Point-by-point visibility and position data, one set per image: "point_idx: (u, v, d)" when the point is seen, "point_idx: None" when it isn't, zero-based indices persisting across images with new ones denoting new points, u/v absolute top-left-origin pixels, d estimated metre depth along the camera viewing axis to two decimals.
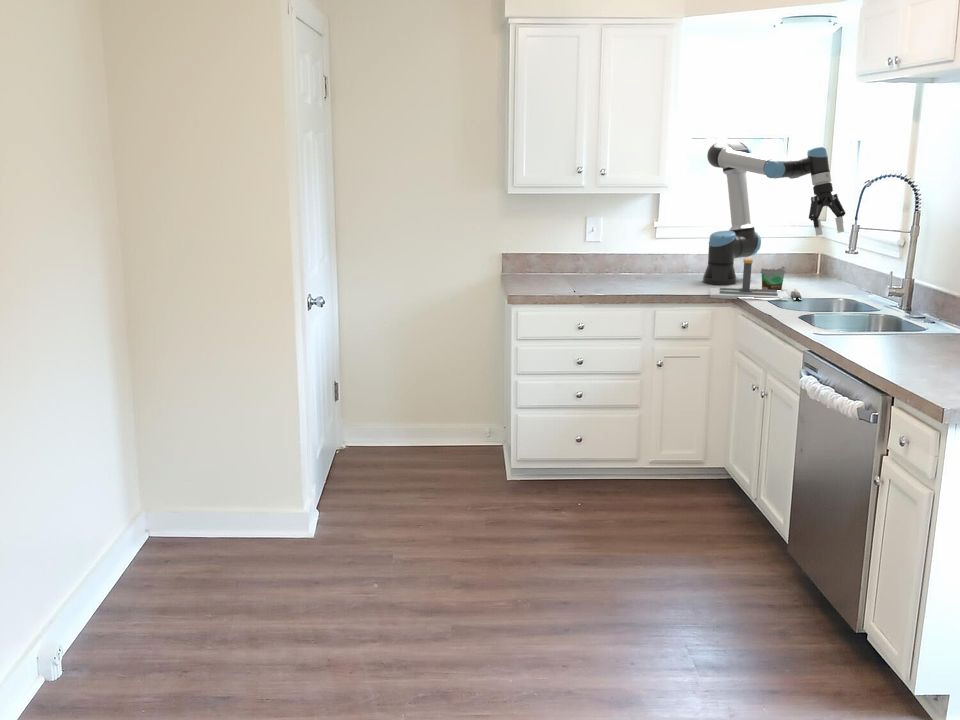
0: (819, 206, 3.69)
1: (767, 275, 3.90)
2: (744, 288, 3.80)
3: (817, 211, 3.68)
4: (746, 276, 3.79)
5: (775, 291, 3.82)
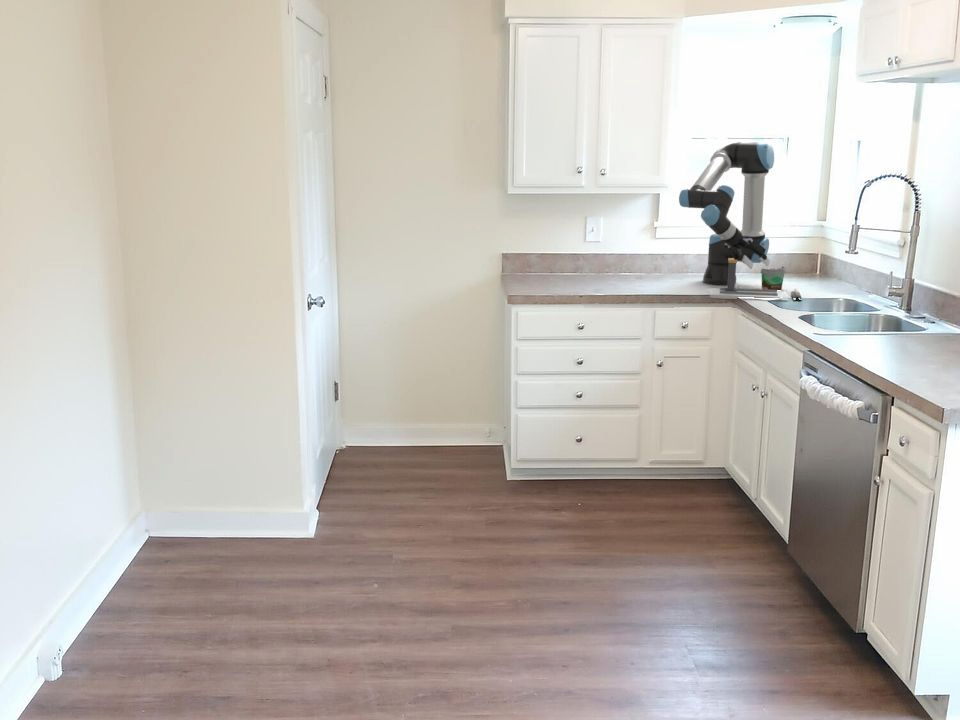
0: None
1: (767, 275, 3.90)
2: (729, 287, 3.82)
3: None
4: (731, 275, 3.80)
5: (775, 291, 3.82)
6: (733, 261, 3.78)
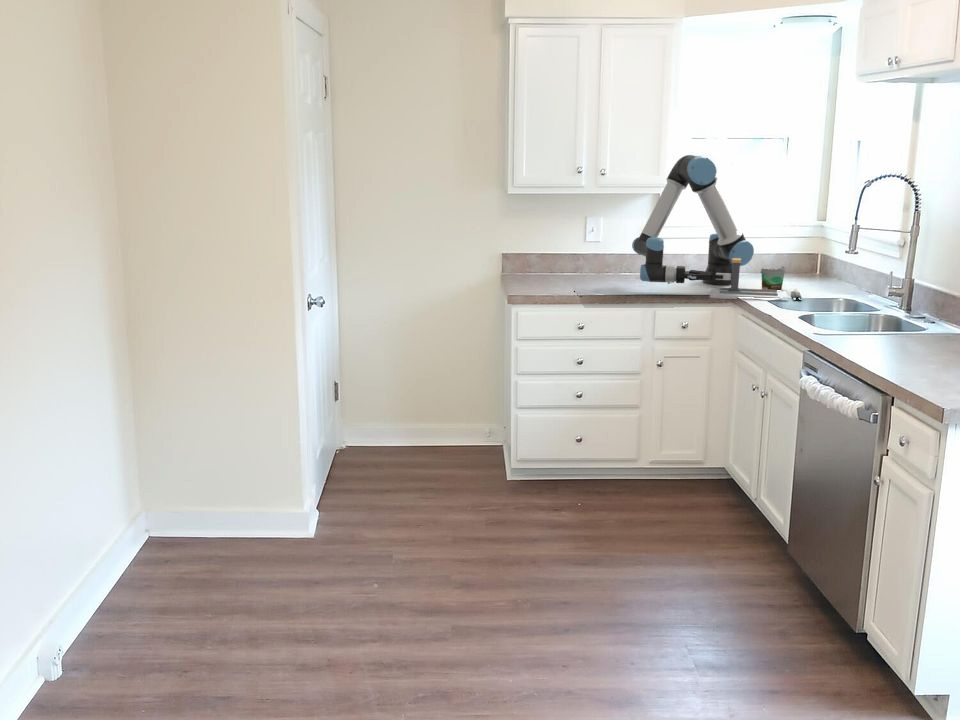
0: None
1: (767, 275, 3.90)
2: (732, 288, 3.81)
3: None
4: (735, 276, 3.80)
5: (775, 291, 3.82)
6: (737, 261, 3.78)
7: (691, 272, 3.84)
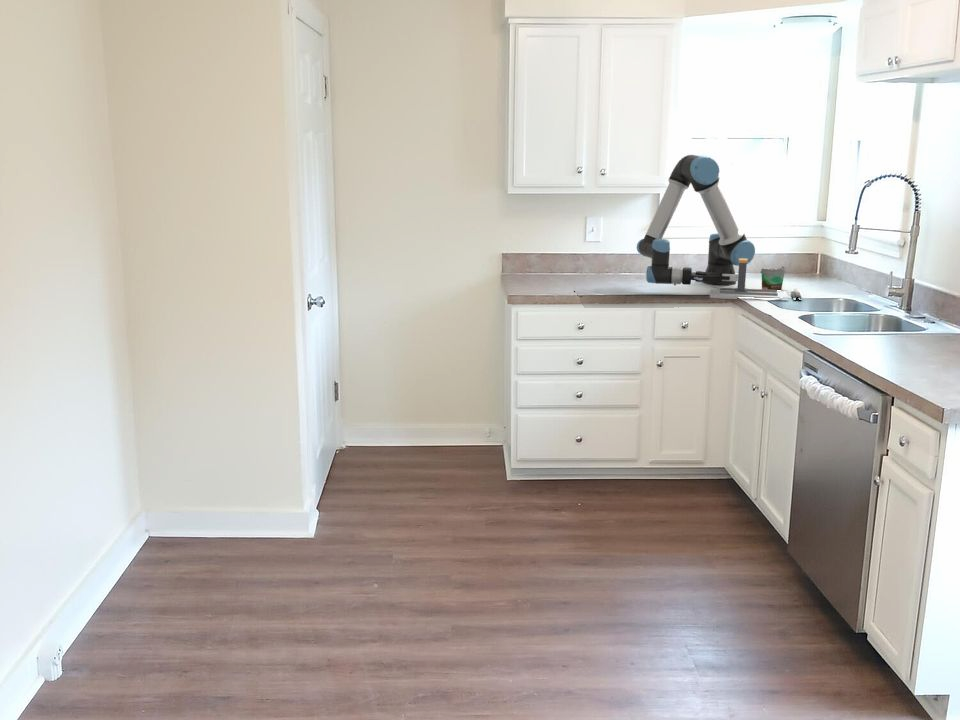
0: None
1: (767, 275, 3.90)
2: (739, 288, 3.81)
3: None
4: (741, 276, 3.79)
5: (775, 291, 3.82)
6: (743, 261, 3.77)
7: (697, 273, 3.83)
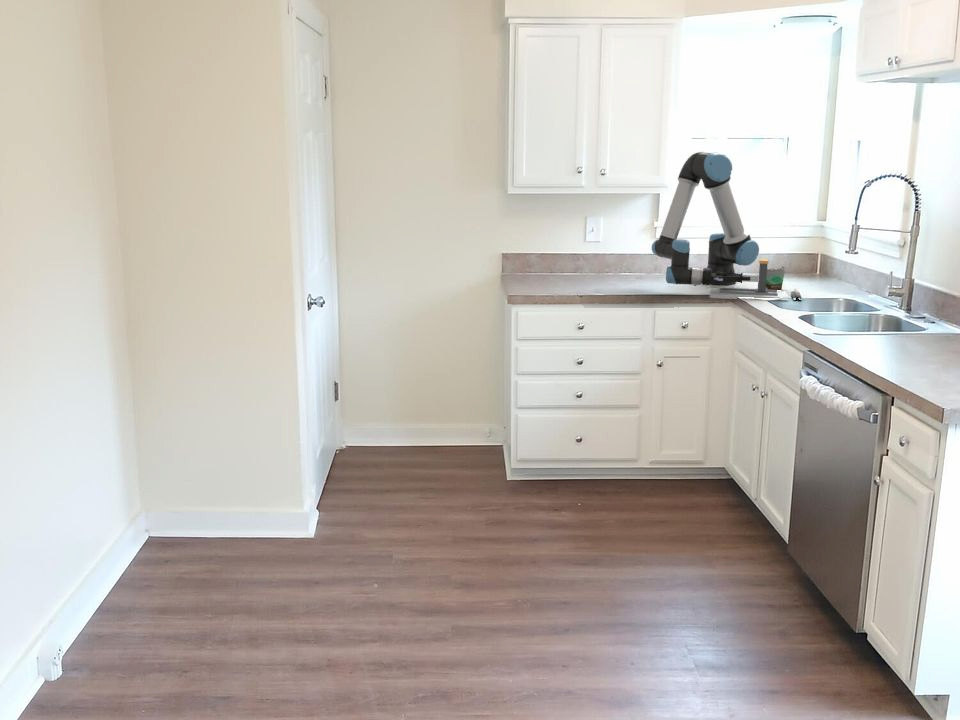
0: None
1: (767, 275, 3.90)
2: (760, 289, 3.78)
3: None
4: (762, 277, 3.77)
5: (775, 291, 3.82)
6: (764, 262, 3.75)
7: (718, 274, 3.81)
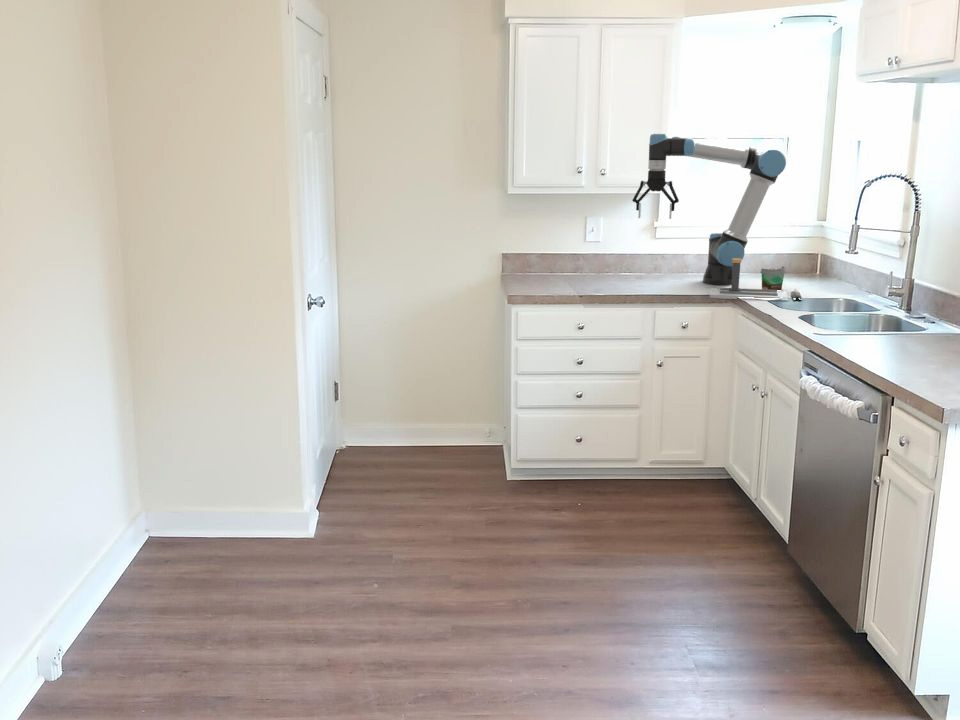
0: (645, 191, 3.91)
1: (767, 275, 3.90)
2: (733, 288, 3.81)
3: None
4: (735, 276, 3.80)
5: (775, 291, 3.82)
6: (737, 261, 3.77)
7: None
